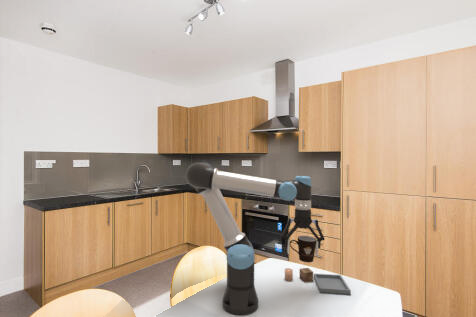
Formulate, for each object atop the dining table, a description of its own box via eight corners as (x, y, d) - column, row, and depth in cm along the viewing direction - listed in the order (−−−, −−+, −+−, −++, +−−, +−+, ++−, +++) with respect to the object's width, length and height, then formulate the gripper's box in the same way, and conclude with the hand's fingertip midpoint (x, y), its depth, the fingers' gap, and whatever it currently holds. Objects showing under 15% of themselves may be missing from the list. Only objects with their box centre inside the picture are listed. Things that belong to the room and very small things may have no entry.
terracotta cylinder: (285, 281, 125) (285, 271, 125) (284, 277, 129) (284, 268, 129) (293, 281, 125) (292, 271, 125) (292, 278, 129) (292, 268, 129)
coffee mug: (317, 259, 117) (318, 238, 117) (312, 265, 110) (313, 242, 110) (294, 253, 123) (295, 233, 123) (288, 258, 116) (288, 237, 116)
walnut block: (304, 282, 124) (304, 272, 124) (299, 278, 129) (299, 268, 129) (313, 281, 125) (313, 271, 125) (308, 277, 130) (308, 267, 130)
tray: (319, 293, 114) (319, 288, 114) (313, 277, 129) (313, 273, 129) (350, 295, 112) (350, 290, 112) (340, 279, 127) (340, 275, 127)
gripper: (277, 208, 115) (276, 255, 115) (331, 211, 112) (331, 258, 111) (276, 206, 123) (276, 249, 122) (327, 208, 119) (327, 252, 119)
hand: (302, 253), depth 117 cm, fingers closed on coffee mug, 12 cm apart
